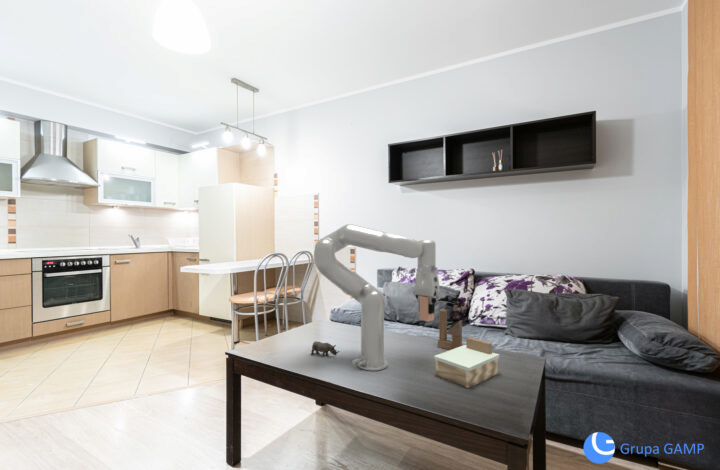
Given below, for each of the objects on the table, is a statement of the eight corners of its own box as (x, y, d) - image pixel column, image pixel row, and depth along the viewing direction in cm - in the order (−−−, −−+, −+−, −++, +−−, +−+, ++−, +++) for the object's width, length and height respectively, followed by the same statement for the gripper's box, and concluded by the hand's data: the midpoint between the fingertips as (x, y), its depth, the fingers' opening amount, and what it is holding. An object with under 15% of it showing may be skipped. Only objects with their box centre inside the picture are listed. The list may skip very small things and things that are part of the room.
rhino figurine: (336, 359, 141) (336, 345, 141) (309, 355, 146) (309, 341, 146) (341, 356, 145) (341, 343, 145) (314, 352, 150) (314, 339, 150)
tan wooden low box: (468, 388, 113) (468, 371, 114) (435, 375, 124) (435, 359, 124) (497, 373, 126) (497, 358, 126) (465, 363, 137) (465, 348, 137)
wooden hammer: (459, 352, 150) (459, 313, 150) (437, 347, 157) (437, 310, 157) (462, 350, 153) (462, 311, 153) (441, 345, 160) (440, 308, 160)
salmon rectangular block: (427, 321, 135) (427, 297, 135) (419, 319, 139) (419, 296, 139) (433, 320, 138) (433, 296, 138) (425, 318, 141) (425, 295, 141)
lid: (468, 371, 113) (468, 356, 113) (433, 359, 125) (433, 345, 125) (499, 357, 126) (499, 344, 126) (465, 347, 138) (465, 335, 138)
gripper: (448, 270, 134) (448, 314, 134) (417, 267, 147) (417, 307, 147) (437, 271, 129) (437, 317, 129) (405, 268, 143) (405, 310, 142)
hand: (426, 311), depth 138 cm, fingers closed on salmon rectangular block, 4 cm apart
